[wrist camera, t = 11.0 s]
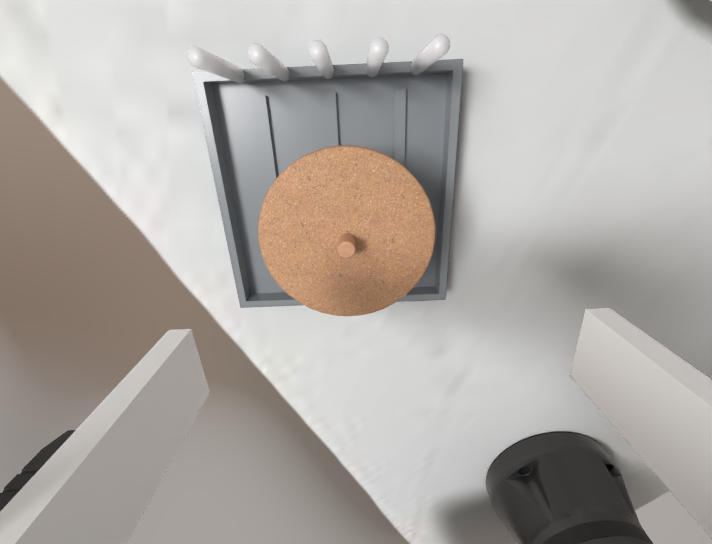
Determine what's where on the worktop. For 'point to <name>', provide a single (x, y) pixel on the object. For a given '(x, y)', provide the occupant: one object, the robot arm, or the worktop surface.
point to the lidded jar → (346, 230)
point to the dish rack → (326, 139)
